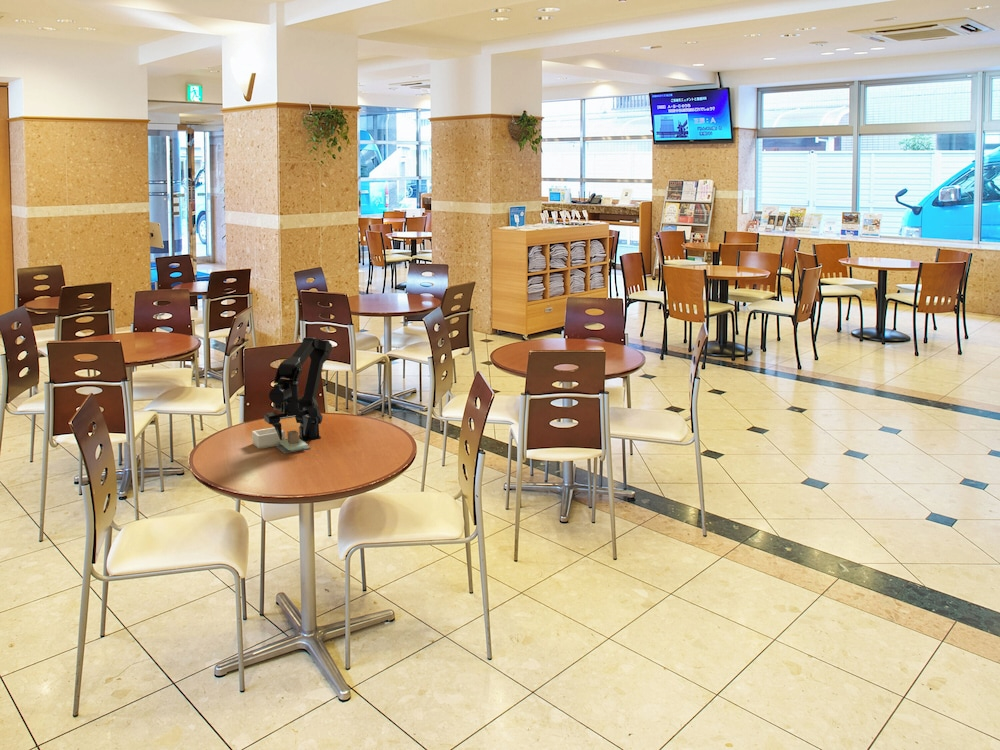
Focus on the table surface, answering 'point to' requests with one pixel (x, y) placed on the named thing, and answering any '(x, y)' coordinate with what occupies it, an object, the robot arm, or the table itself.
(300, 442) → the lid
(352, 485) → the table surface
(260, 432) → the caddy
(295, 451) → the mat
